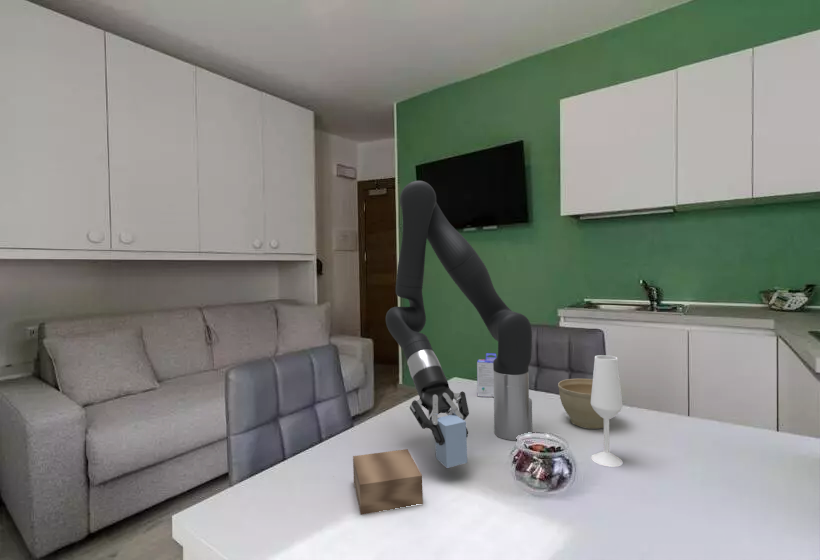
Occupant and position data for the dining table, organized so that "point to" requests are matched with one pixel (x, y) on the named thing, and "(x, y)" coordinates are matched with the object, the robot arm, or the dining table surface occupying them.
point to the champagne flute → (606, 402)
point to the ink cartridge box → (485, 376)
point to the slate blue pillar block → (452, 441)
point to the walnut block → (386, 481)
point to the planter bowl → (579, 403)
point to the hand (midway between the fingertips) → (453, 440)
